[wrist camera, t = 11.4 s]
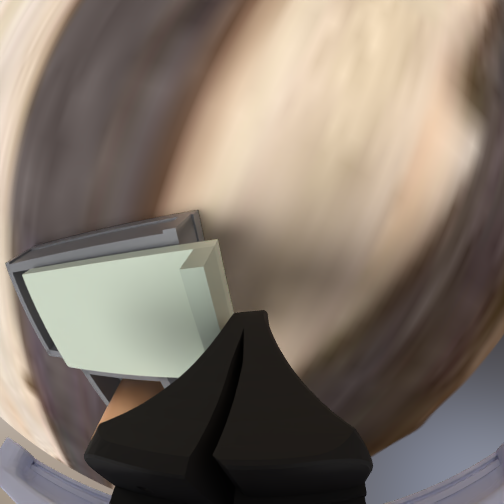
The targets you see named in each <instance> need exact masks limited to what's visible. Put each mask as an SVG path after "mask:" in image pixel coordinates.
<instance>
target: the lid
mask: <svg viewBox="0 0 504 504" xmlns="http://www.w3.org/2000/svg"><path fill="white" fill-rule="evenodd" d="M22 276H23V279H24V281H25V284H26V286H27V289H28V291H29V293H30V296H31V298H32V300H33V303H34V305H35V307H36V309H37V311H38V313H39V315H40V317H41V319H42V321H43V323H44V325H45V327H46V329H47V331H48V333H49V335H50V337H51V338H52V340H53V342H54V344H55V345H56V347H57V349H58V351H59V352H60V354H61V356H62V357H63V359H64V361H65V362H66V364H67V365H68V367H73V368H79V369H85V370H92V371H99V372H107V373H116V374H126V375H137V376H152V377H173V378H179V377H180V376H181V375H182V374H183V373H184V372H186V371H187V370H188V369H189V368H190V367H191V366H192V365H193V364H194V363H195V362H196V361H197V359H198V358H199V357H200V356H201V355H202V354H203V353H204V352H205V350H206V349H207V348H208V347H209V346H210V344H211V343H212V342H213V341H214V339H215V338H216V337H217V335H218V334H219V333H220V331H221V330H222V329H223V327H224V326H225V324H226V323H227V322H228V320H229V319H230V317H231V316H232V315H233V314H234V311H233V306H232V302H231V298H230V293H229V289H228V284H227V280H226V275H225V271H224V266H223V261H222V257H221V252H220V247H219V242H218V239H215V240H208V241H201V242H194V243H187V244H181V245H174V246H167V247H161V248H154V249H148V250H141V251H135V252H128V253H122V254H116V255H110V256H104V257H97V258H91V259H85V260H79V261H74V262H68V263H62V264H56V265H51V266H45V267H39V268H34V269H30V270H28V271H27V272H25V273H24V274H22Z"/></svg>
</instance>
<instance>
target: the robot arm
mask: <svg viewBox="0 0 504 504" xmlns="http://www.w3.org/2000/svg"><path fill="white" fill-rule="evenodd" d="M84 459H85V461H86V462H87V464H88V465H89V466H90V467H91V468H92V469H93V470H95V471H96V472H97V473H98V474H100V475H101V476H102V477H104V478H105V479H106V480H108V481H109V482H111V483H112V484H113V485H115V488H114V491H113V494H112V495H109V494H107V493H104V492H101V491H99V490H96V489H94V488H91V487H89V486H87V485H85V484H82V483H80V482H78V481H76V480H74V479H72V478H69V477H67V476H66V475H63V474H61V473H59V472H58V471H56V470H54V469H52V468H50V467H48V466H47V465H45V464H43V463H41V462H40V461H38V460H37V459H35V458H34V457H33V456H32V455H31V454H30V453H29V452H28V451H27V450H26V449H24V448H23V447H22V446H20V445H19V444H18V443H16V442H15V441H13V440H12V439H10V438H9V437H7V438H6V439H5V441H4V443H3V445H2V446H1V448H0V487H1V488H2V489H3V490H4V491H5V492H6V493H7V494H8V495H9V496H10V497H11V498H12V500H13V501H14V502H15V503H16V504H366V502H365V496H366V487H365V481H366V479H367V478H368V476H369V474H370V472H371V471H372V468H373V463H372V459H371V457H370V454H369V452H368V450H367V447H366V446H365V444H364V442H363V440H362V439H361V437H360V435H359V434H358V432H357V431H356V429H355V428H354V427H352V426H351V425H349V424H348V423H346V422H345V421H344V420H342V419H341V418H340V417H339V416H337V415H336V414H335V413H334V412H332V411H331V410H330V409H329V408H328V407H327V406H326V405H324V404H323V403H322V402H321V401H320V400H319V399H318V398H317V397H316V396H315V395H314V394H313V393H312V392H311V391H310V390H309V389H308V388H307V387H306V385H305V384H304V383H303V382H302V381H301V379H300V378H299V377H298V376H297V374H296V373H295V372H294V370H293V369H292V368H291V366H290V365H289V363H288V362H287V360H286V359H285V357H284V355H283V354H282V352H281V350H280V349H279V347H278V345H277V343H276V341H275V339H274V337H273V334H272V332H271V330H270V327H269V322H268V315H267V312H266V311H264V310H261V311H251V312H241V313H234V314H233V315H232V316H231V317H230V319H229V320H228V322H227V323H226V324H225V326H224V327H223V329H222V330H221V331H220V333H219V334H218V335H217V337H216V338H215V339H214V341H213V342H212V343H211V344H210V346H209V347H208V348H207V349H206V350H205V352H204V353H203V354H202V355H201V356H200V357H199V358H198V359H197V361H196V362H195V363H194V364H193V365H192V366H191V367H190V368H189V369H188V370H187V371H186V372H184V373H183V374H182V375H181V376H180V377H179V378H178V379H176V380H175V381H174V382H173V383H171V384H170V385H169V386H167V387H166V388H165V389H163V390H162V391H161V392H159V393H158V394H156V395H155V396H153V397H152V398H150V399H149V400H147V401H145V402H144V403H142V404H140V405H139V406H137V407H135V408H133V409H131V410H129V411H127V412H125V413H123V414H121V415H119V416H117V417H114V418H112V419H110V420H107V421H105V422H102V423H100V424H99V425H98V427H97V429H96V431H95V433H94V435H93V437H92V439H91V441H90V443H89V445H88V448H87V450H86V452H85V454H84ZM385 504H504V443H503V444H502V445H501V446H500V447H499V448H498V449H497V451H496V452H494V453H493V454H491V455H490V456H488V457H487V458H485V459H483V460H482V461H480V462H478V463H477V464H475V465H473V466H472V467H470V468H468V469H466V470H464V471H463V472H461V473H459V474H457V475H455V476H453V477H451V478H449V479H447V480H445V481H443V482H441V483H438V484H436V485H434V486H432V487H429V488H427V489H424V490H422V491H420V492H417V493H414V494H412V495H409V496H407V497H403V498H401V499H398V500H394V501H392V502H388V503H385Z"/></svg>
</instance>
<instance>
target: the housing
mask: <svg viewBox="0 0 504 504" xmlns="http://www.w3.org/2000/svg"><path fill="white" fill-rule="evenodd" d="M201 241H205V240H204V235H203V231H202V226H201V222H200V217H199V212H198V210H194V211H189V212H183V213H178V214H172V215H167V216H162V217H156V218H151V219H146V220H141V221H137V222H132V223H127V224H122V225H118V226H113V227H109V228H104V229H100V230H96V231H91V232H87V233H83V234H79V235H75V236H71V237H67V238H63V239H59V240H55V241H51V242H48V243H44V244H40V245H37V246H34V247H32V248H30V249H29V250H26V251H24V252H23V253H21V254H19V255H18V256H16V257H14V258H13V259H11V260H9V261H8V262H6V263H5V264H6V267H7V270H8V272H9V275H10V278H11V280H12V283H13V285H14V288H15V290H16V292H17V295H18V297H19V299H20V302H21V304H22V306H23V308H24V310H25V312H26V314H27V316H28V318H29V320H30V322H31V324H32V326H33V328H34V330H35V332H36V334H37V336H38V337H39V339H40V341H41V343H42V344H43V346H44V348H45V350H46V351H47V353H48V355H50V356H55V357H61V358H63V357H62V356H61V354H60V352H59V351H58V349H57V347H56V345H55V344H54V342H53V340H52V338H51V337H50V335H49V333H48V331H47V329H46V327H45V325H44V323H43V321H42V319H41V317H40V315H39V313H38V311H37V309H36V307H35V305H34V303H33V300H32V298H31V296H30V293H29V291H28V289H27V286H26V284H25V281H24V279H23V276H22V274H24V273H25V272H27V271H28V270H30V269H34V268H39V267H45V266H51V265H56V264H62V263H68V262H74V261H79V260H85V259H91V258H97V257H104V256H110V255H116V254H122V253H128V252H135V251H141V250H148V249H154V248H161V247H167V246H174V245H181V244H187V243H194V242H201ZM82 371H83V372H84V374H85V376H86V377H87V379H88V380H89V382H90V383H91V384H92V386H93V387H94V389H95V390H96V392H97V393H98V394H99V396H100V397H101V399H102V400H103V401H104V403H105V404H106V405H107V407H108V405H109V403H110V401H111V399H112V397H113V395H114V393H115V391H116V389H117V388H118V386H119V384H120V382H121V380H122V378H124V379H135V380H147V381H160V382H161V384H162V386H163V387H164V389H165V388H166V387H167V386H169V385H170V384H171V383H173V382H174V381H175V380H176V379H178V378H173V377H152V376H137V375H126V374H116V373H107V372H99V371H92V370H85V369H82Z"/></svg>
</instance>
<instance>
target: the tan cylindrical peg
mask: <svg viewBox="0 0 504 504" xmlns="http://www.w3.org/2000/svg"><path fill="white" fill-rule="evenodd" d="M163 389H164V387H163V386H162V384H161V382H160V381H147V380H135V379H124V378H122V380H121V382H120V384H119V386H118V388H117V389H116V391H115V393H114V395H113V397H112V399H111V401H110V403H109V405H108V407H107V408H106V410H105V412H104V414H103V416H102V418H101V420H100V422H99V424H100V423H102V422H105V421H107V420H110V419H112V418H114V417H117V416H119V415H121V414H123V413H125V412H127V411H129V410H131V409H133V408H135V407H137V406H139V405H140V404H142V403H144V402H145V401H147V400H149V399H150V398H152V397H153V396H155V395H156V394H158V393H159V392H161V391H162V390H163ZM99 424H98V425H99ZM97 427H98V426H97ZM96 429H97V428H96ZM95 431H96V430H95ZM94 433H95V432H94ZM93 435H94V434H93ZM92 437H93V436H92ZM91 439H92V438H91Z"/></svg>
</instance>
